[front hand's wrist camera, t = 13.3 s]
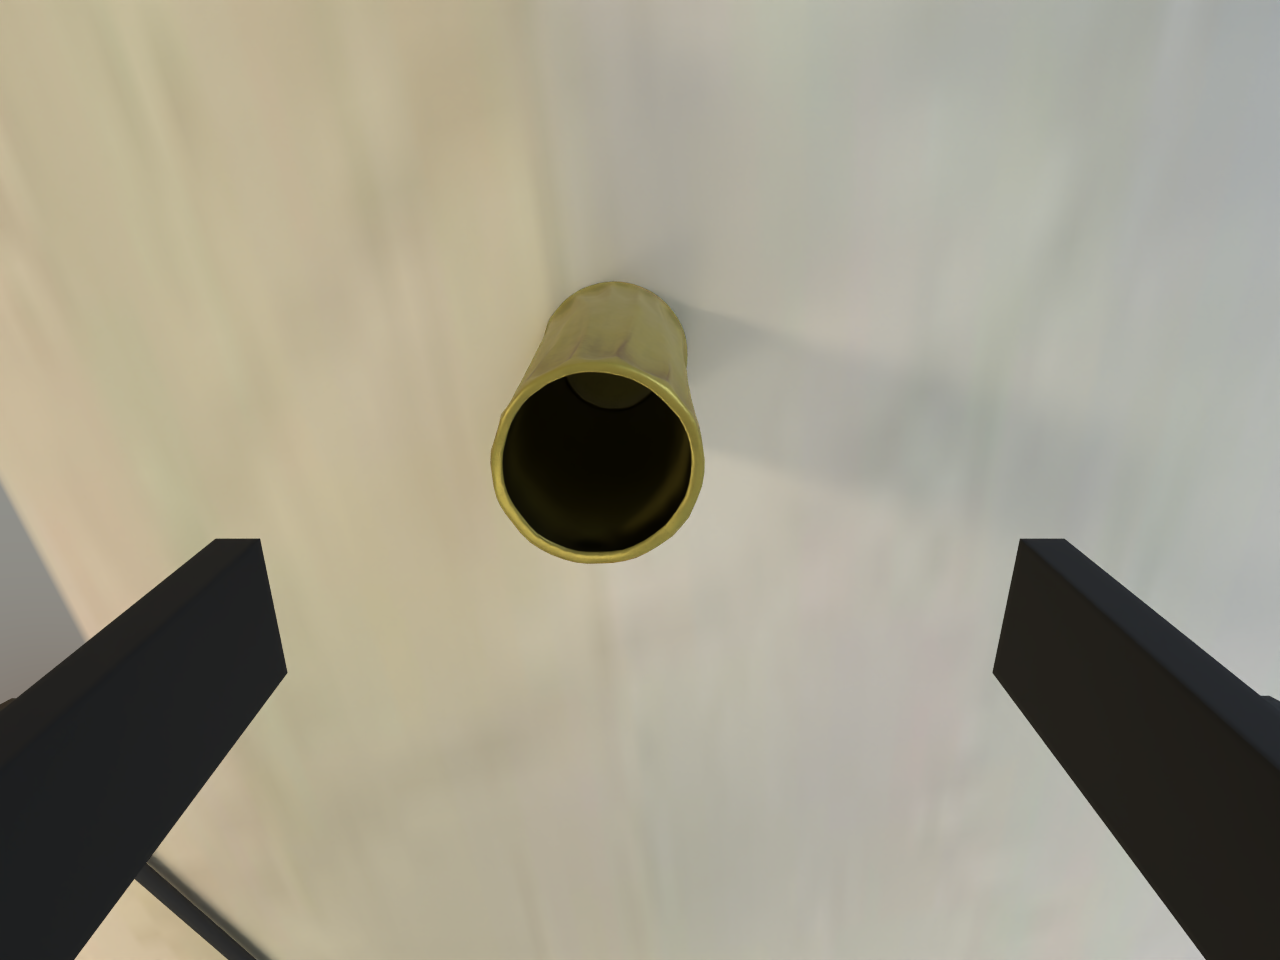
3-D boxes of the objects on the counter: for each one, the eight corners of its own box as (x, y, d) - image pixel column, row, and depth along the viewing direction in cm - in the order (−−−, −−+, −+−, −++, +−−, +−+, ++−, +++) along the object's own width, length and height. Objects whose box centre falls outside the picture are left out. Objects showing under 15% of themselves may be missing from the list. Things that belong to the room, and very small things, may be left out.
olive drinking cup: (546, 425, 32) (480, 582, 19) (538, 281, 30) (457, 341, 17) (685, 425, 32) (720, 581, 19) (688, 280, 30) (729, 339, 17)
